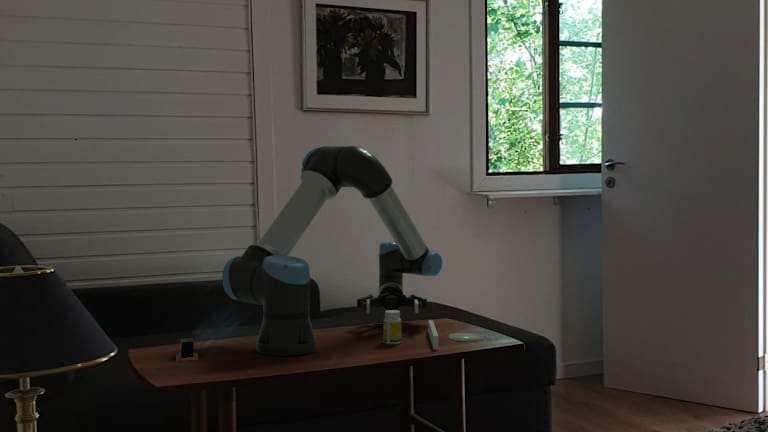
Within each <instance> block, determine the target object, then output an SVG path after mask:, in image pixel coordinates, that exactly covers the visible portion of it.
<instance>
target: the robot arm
mask: <svg viewBox="0 0 768 432" xmlns="http://www.w3.org/2000/svg"><path fill="white" fill-rule="evenodd" d="M301 166H302V168H300V169H301V175H300V180H301V183H300V185H299V186H298V187H297V189H296V190H294V193H293V194H292V196H291V197H290V198H289V199H288V201H287V202H286V204H285V205H284V207H283V208H282V209H281V210H280V213H279V212H278V215H277V216H276V218H274V221H273V222H272V223H271V225H269V228H267V229H266V231H265V233H264V234H263V236H262V237H261V238H260V240H259V241H258V242H257V243H252V244H250V245H248V246H247V248H246V249H245V251H244V252H243V254H242V255H241V256H240V255H238V256H235V257H231V258H230V259H228V261H227V262H226V263H225V264H224V266H223V270H222V272H221V273H222V274H221V279H222V287H223V290H224V292H225V293H226V294H227V295H228V297H230V298H231V299H233V300H235V301H238V302H241V303H249V304H254V305H262V307H263V309H262V311H263V314H262V315H263V316H262V317H263V318H262V323H261V326H260V329H259V332H258V336H257V339H256V344H255V345H256V346H255V348H256V352H257V353H259V354H262V355H268V356H276V357H277V356H279V357H284V356H285V357H289V356H292V357H293V356H301V355H306V354H310V353H314V352H315V351H316V350H317V339H316V335H315V331H314V329H313V326H312V323H311V319H310V298H311V297H310V296H311V275H310V265H309V264H308V263H309V262H307V261H306V260H305V259H303V258H300V257H296V256H292V255H290V254H291V252H292V251H293V249H294V248H295V247H296V245H297V243H298V242H299V240H300V239H301V237H302V236H303V235H304V233H305V232H306V230H307V229H308V228H309V226H310V225H311V223H312V222H313V220H314V219H315V218H316V216H317V214H318V213H319V212H320V210H321V208H322V207H323V206H324V204H325V203H326V202H327V200H328V201H329V200H334V199H335V197H336V196H337V194H338V193H339V192H340V191H341V189H342V188H353V189H356V190H357V191H358V192H360V193H361V194H360V195H362V198H364V199H366V200H369V201H370V204H371V205H372V206H373V208H374V209H375V212H376V213H377V215H378V217H379V218H380V220H381V221H382V223H383V225H384V226H385V228H386V229H387V231H388V232H389V235H390V236H391V238H392V239H393V241H382V242H381V243H380V244H379V252H378V263H379V264H378V274H379V276H378V295H377V297H376V296H375V295H373V294H371V293H370V294H368V295H366V296H364V297H360V298H356V308H357V309H362V311H363V312H366V314H370V311H371V310H370V308H375V307H378V308H379V307H380V308H383V309H386V311H388V310H398V309H399V308H403V307H410V308H414V312H415V314H419V310H421V309H427V308H428V299H427V298H423V297H421V296H416V294H410V295H409V296H407V295H406V294H404V291H403V290H404V289H403V287H404V286H403V284H404V283H403V282H404V281H403V279H404V278H403V277H404V274H408V275H415V276H423V277H436V276H437V275H438V274H439V273H440V272H441V270H442V268H443V258H442V256H441V254H440V253H439V252H438V251H437V252H436V251H433V250H431V251H430V250H429V247H428V246H427V245H426V242H425V240H424V239H423V238H422V236H421V234H420V232H419V231H418V229H417V227H416V226H415V223H414V222H413V220H412V218H411V217H410V215H409V213H408V211H407V210H406V208H405V207H404V205H403V203H402V201H401V200H400V198H399V196H398V194H397V192H396V190H395V189H394V187H393V186H392V185H393V179H392V177H391V175H390V174H389V172H388V171H387V169H386V168H385V166H384V165H383V163H382V162H381V161H380V160H379V159H378V158H377V157H376V156H375V155H373V154H372V153H371V152H369V151H368V150H367V149H365V148H363V147H361V146H356V145H346V146H339V145H338V146H329V145H326V146H325V145H323V146H320V147H315V148H312V149H311V150H310V151H308V152H307V153H306V154H305V156H304V158H303V159H302V162H301Z"/></svg>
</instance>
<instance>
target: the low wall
mask: <svg viewBox="0 0 768 432" xmlns="http://www.w3.org/2000/svg"><path fill="white" fill-rule="evenodd" d="M427 324H428V325H427V327H428V328H427V330H428V331H427V332H428V336H429V339H430V342H431V345H432V349H433V350H434V351H435V350H437V351H438V350H439V334H438V331H437V329H436V326H435V323H434V320H433V319H428V322H427Z"/></svg>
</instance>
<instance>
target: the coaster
mask: <svg viewBox="0 0 768 432" xmlns="http://www.w3.org/2000/svg"><path fill="white" fill-rule="evenodd" d="M448 339H449V341H455V342H464V343H469V342H470V343H472V342H479V341H482V339H483V335H481V334H478V333H474V332H473V333H471V332H455V333H454V332H453V333H450V334H449V335H448Z"/></svg>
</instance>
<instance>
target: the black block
mask: <svg viewBox="0 0 768 432" xmlns="http://www.w3.org/2000/svg"><path fill="white" fill-rule="evenodd" d="M194 348H195V347H194V339H193V338H181V339H180V352H177V353H178V355H179V358H187V357H195V354H194V352H195V351H194Z"/></svg>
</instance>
